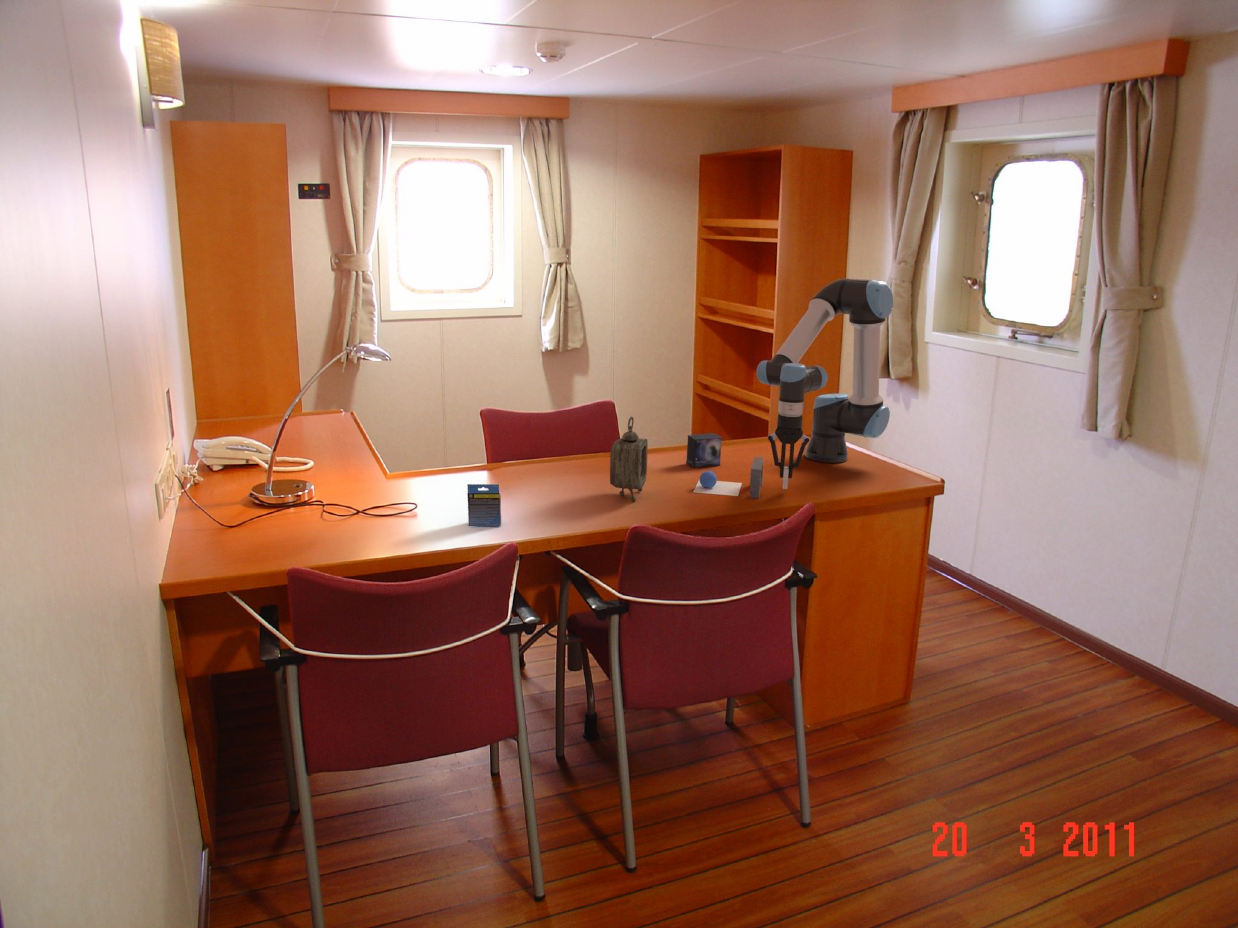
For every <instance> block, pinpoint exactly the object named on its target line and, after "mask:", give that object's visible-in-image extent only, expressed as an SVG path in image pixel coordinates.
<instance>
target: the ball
mask: <svg viewBox="0 0 1238 928" xmlns="http://www.w3.org/2000/svg"><path fill="white" fill-rule="evenodd" d="M717 477H718V476H717V475H716V474H715V473H714V471H710V470H706V471H703V472H701V474H700V476H699V480H700V484H701V485H702V486H703V487H705V488H712V487H713V486H714V485H715V484H716V482H717V481H718V478H717Z"/></svg>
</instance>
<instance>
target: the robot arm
mask: <svg viewBox="0 0 1238 928" xmlns="http://www.w3.org/2000/svg"><path fill="white" fill-rule="evenodd" d="M893 307H894V295H893V290H892V289H891V287H890V286H889V285H888V283H886V282H885V281H878V280H875V279H856V278H846V277H845V278H841V279H836V280H834V281H832V282H830V283H827V285H825V286H824V287H822V288H821V289H820V290H819V291H818V292H816V294H815V295H814V296H813V297H812V298H811V300H810V301H809V303H808V309H807V310H806V312H805V313H804V315H802V317H801V318H800V320H799V321H798V323H797V324H796V325H795V327H794V328H793V330H792V331H791V332H790V334H789V335H788V337H786V339H785V341H784V342H783V343H782V345H781V346H780V348H779V349H778V351H777V352H776V353H775V355H773V356H772V358H771V360H768V359H767V360H762V361H760V362H759V364H758V365H757V368H756V373H755V374H756V378H757V381H758V382H760V383H761V384H764V385H768V386H776V387H779V398H778V409H777V412H778V415H777V421H776V422H777V423H776V429H774V432H772V433H769V434H767V440H768V441H769V443H770V447H771V452H772V457H773V462H774V466H775V467H779V478H781V479H782V489H783V490H788V486H789V485H788V484H789V479H792V477H793V471H794V470H793V469H794V468H799V466H800V464H801V463H800V462H801V460H802V458H803V454H804V451H805V454H804V455H805V457H806V458H807V459H808V460H810V461H813V462H814V461H815V462H819V463H830V464H831V463H832V464H837V463H844V462H846V461H848V459H849V451H848V447H847V446H848V445H847V443H846V442H847V441H846V437H845V436H846V434H849V435H853V436H859V437H864V438H870V439H871V438H872V439H877V438H879V437H880V436H881V435H883V433H884V432H885V431H886V428H887V427H888V424H889V421H890V417H891V415H890V414H891V411H890V408H889V407H888V406H886V405H884V398H883V397H882V395H881V394H879V393H880V362H881V361H880V358H881V356H880V355H881V326H882V325H883V324H884V323H886V318H888V317H889V316H890V315H891V313H892V312H893V310H892V309H893ZM840 314H842V315H848V317H849V318H848V320H849V321H848V322H849V324H851V326H853V355H852V356H853V359H852V360H853V361H852V365H853V366H852V367H853V369H852V394H851V395H850V396H849V395H848V394H845V393H827V394H821V395H818V396H816V398H815V399H814V403H813V408H812V409H813V416H812V427H811V428H812V429H811V437H809V436H807V435H805V434H804V431H803V419H804V418H803V413H804V405H805V404H804V403H805V393H810V392H816V391H818V390H821V389H823V388H824V387H825V386H826V385H827V383H828V381H829V379H828V378H829V376H828V373H827V371H826V369H825V368H824V367H822V366H820V365H811V366H806V364H803V363H799V362H800V360H801V359H802V358H803V356H804V355H805V354H806V352H807V351H808V349H809V348H810V347H811V345H812V343H813V342H814V341H815V339H816V338H817V337H818V336H819V334H820V333H821V331H822V329H824V327H825V326H826V324H827V323H828V322H830V321H833V320H834V318H835V317H836V316H837V315H840ZM776 439H778V440H779V442H780V443H781V451H780V452H781V453H780V461H779V457H778V456H779V455H778V450H777V444H776ZM800 439H801V445H800V447H799V449H798V453H797V455H796V459H795V462H794V458H795V457H794V455H795V444H796V443H798V441H800ZM787 445H789V458H788V459H789V461H788V466H785V464H786V463H785V462H786V451H787V450H786V449H787ZM806 445H807V446H806ZM805 448H806V449H805Z"/></svg>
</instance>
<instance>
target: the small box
mask: <svg viewBox="0 0 1238 928" xmlns="http://www.w3.org/2000/svg"><path fill="white" fill-rule="evenodd" d="M722 439H723V437H722V436H720V435H718V434H716V433H715V432H710V433H697V434H688V435H687V446H686V447H687V448H686V449H687V450H686V462H685V464H687V465H688V466H690V467H692V468H693V469H697V468H699V469H700V468H709V467H710V468H711V467H721V459H722V458H721V457H722V455H721V454H722Z"/></svg>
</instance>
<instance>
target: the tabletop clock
mask: <svg viewBox="0 0 1238 928" xmlns="http://www.w3.org/2000/svg"><path fill="white" fill-rule="evenodd" d="M633 428H634V416H630V417H629V418H628V422H627V430H628V431H626V432H624V433H623V434H622V436H621V438H619V439H616V440H615V441H614V442H613V444H612V445H611V447H610V453H609V454H610V455H609V456H610V457H609V458H610V459H609V484H610V485H611V486H613V487H615V488H616V489H621V490H620V491H619V492H618V493H619V496H620V497H624V495H625V489H627V490H628V491H629V493H630V495H631V498H630V501H631V502H632V503H635V502H636V501H637V497H635V495H634V491H633V490H637V492H639V493H640V492H642V491H643V486H644V485H645V483H646V480H647V475H648V474H647V472H648V439H647V438H639V435H638V434H637V432H636V431H633Z"/></svg>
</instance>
